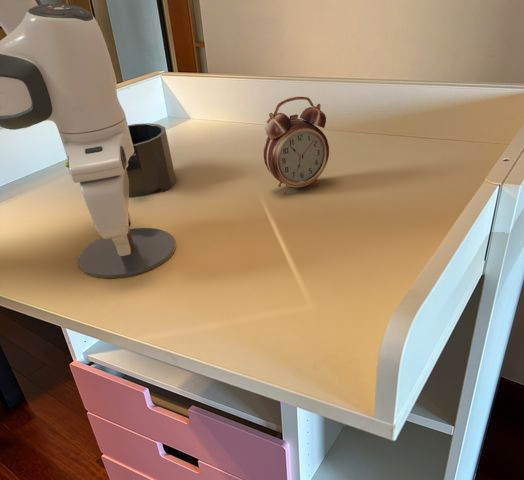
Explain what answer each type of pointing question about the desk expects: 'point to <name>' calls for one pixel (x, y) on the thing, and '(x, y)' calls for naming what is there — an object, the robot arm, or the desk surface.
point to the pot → (149, 160)
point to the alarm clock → (296, 146)
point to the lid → (138, 261)
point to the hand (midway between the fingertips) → (125, 238)
